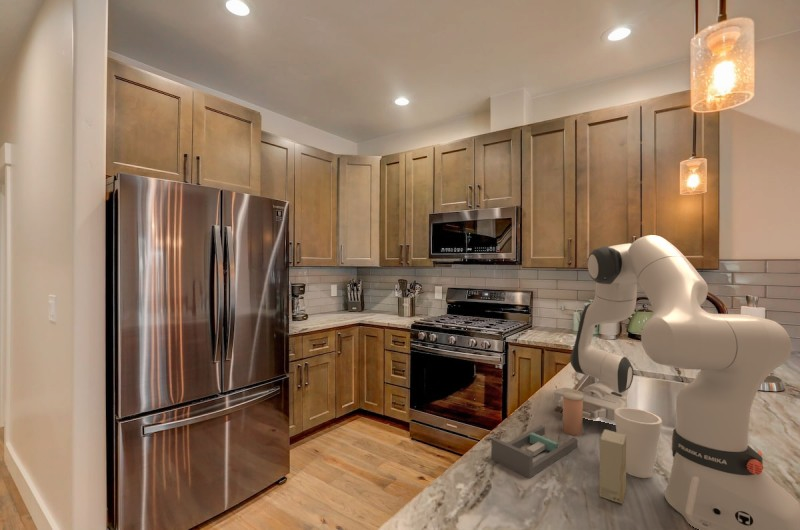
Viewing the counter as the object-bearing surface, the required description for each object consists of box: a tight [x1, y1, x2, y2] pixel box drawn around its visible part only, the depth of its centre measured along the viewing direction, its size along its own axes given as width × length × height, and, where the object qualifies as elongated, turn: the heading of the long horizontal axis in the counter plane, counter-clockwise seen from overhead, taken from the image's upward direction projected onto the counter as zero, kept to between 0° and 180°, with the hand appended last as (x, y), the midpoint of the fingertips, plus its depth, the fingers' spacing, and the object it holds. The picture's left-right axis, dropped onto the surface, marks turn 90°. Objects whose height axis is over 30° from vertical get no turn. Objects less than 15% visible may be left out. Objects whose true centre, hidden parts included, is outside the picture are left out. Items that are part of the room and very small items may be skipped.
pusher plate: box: [525, 432, 559, 457], centre depth 95 cm, size 7×7×2 cm
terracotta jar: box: [561, 390, 584, 436], centre depth 107 cm, size 5×5×11 cm
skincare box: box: [598, 428, 627, 505], centre depth 78 cm, size 6×4×12 cm
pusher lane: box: [490, 425, 579, 479], centre depth 94 cm, size 23×10×5 cm, turn 130°
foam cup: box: [614, 407, 663, 479], centre depth 87 cm, size 10×9×13 cm
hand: (576, 409), depth 108 cm, fingers open, 8 cm apart
